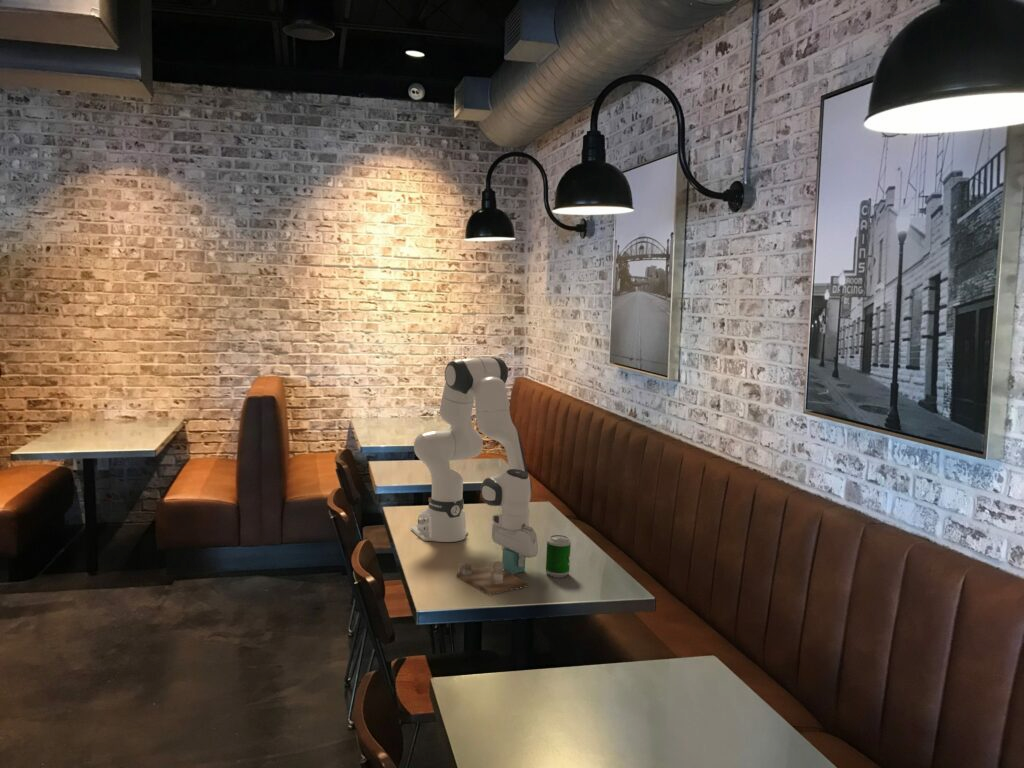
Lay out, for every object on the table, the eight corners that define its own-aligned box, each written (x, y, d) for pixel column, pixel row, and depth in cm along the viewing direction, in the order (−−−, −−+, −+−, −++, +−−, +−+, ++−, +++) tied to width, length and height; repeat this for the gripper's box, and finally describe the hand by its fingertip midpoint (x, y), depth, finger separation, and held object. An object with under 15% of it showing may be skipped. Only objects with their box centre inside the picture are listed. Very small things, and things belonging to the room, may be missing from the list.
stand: (456, 576, 250) (457, 553, 249) (493, 569, 259) (494, 547, 258) (489, 594, 236) (490, 571, 235) (527, 586, 244) (528, 563, 243)
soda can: (567, 579, 252) (569, 542, 251) (543, 576, 253) (545, 539, 252) (570, 571, 259) (572, 535, 258) (547, 569, 261) (549, 533, 259)
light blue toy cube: (501, 569, 259) (502, 549, 258) (514, 566, 262) (515, 546, 261) (511, 574, 255) (512, 553, 254) (524, 571, 258) (525, 551, 257)
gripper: (543, 527, 250) (541, 571, 252) (504, 512, 267) (503, 553, 268) (527, 530, 246) (525, 574, 248) (489, 514, 263) (487, 555, 264)
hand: (513, 563), depth 258 cm, fingers closed on light blue toy cube, 5 cm apart
